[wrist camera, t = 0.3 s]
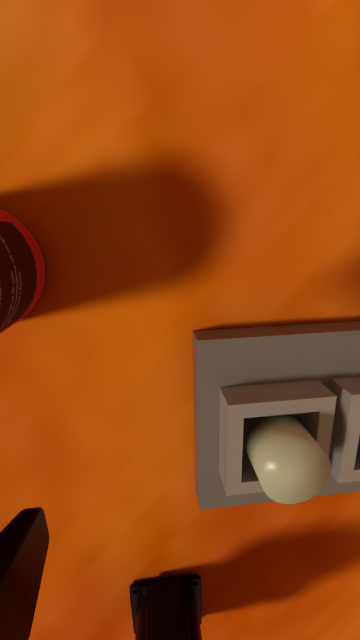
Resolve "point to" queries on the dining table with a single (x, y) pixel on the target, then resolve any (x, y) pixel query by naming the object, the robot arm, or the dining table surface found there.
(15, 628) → the robot arm
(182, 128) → the dining table surface
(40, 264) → the canned food
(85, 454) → the dining table surface
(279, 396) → the panel
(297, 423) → the button sage
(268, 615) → the dining table surface
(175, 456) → the dining table surface
